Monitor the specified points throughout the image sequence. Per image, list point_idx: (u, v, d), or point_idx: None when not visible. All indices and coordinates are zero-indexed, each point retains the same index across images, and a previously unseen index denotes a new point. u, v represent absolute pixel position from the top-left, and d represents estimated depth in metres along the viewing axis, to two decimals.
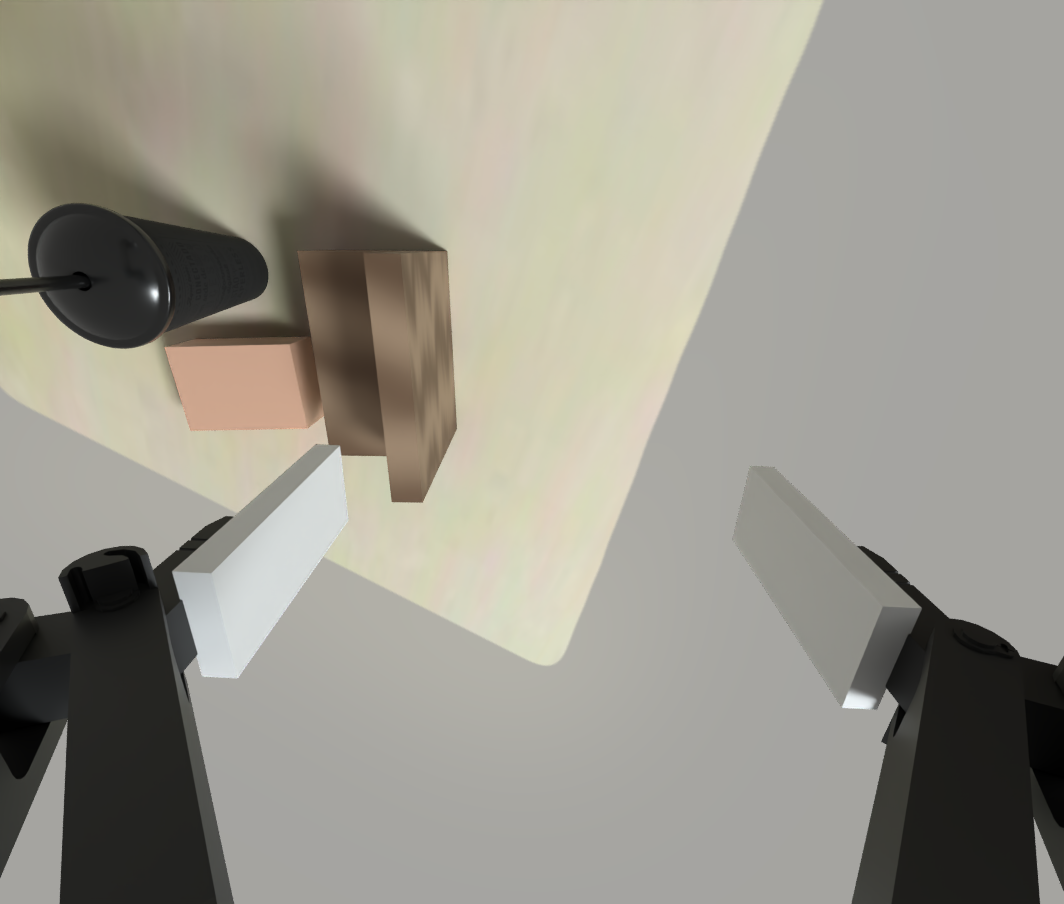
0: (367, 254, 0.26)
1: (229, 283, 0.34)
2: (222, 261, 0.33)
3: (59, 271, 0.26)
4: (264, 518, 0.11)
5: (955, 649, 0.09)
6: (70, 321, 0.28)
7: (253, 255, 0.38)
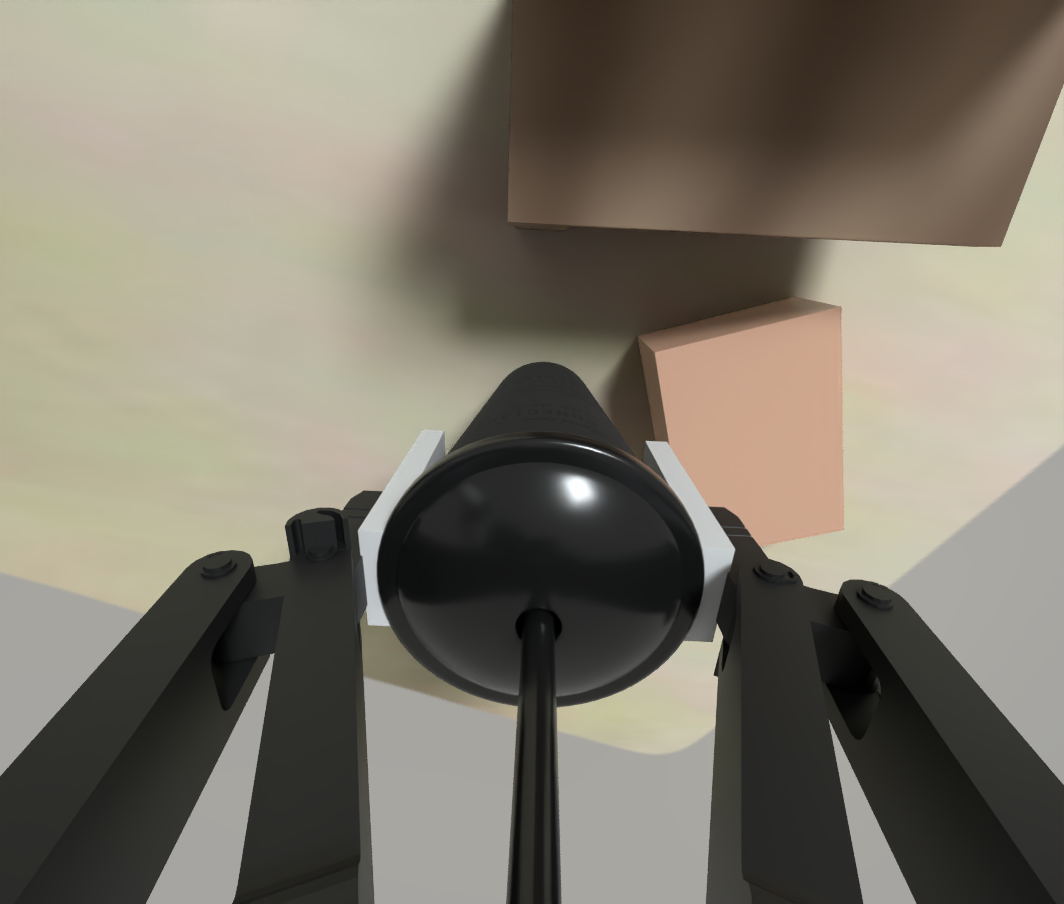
0: None
1: (563, 390, 0.17)
2: (522, 389, 0.17)
3: (514, 662, 0.11)
4: None
5: (757, 584, 0.10)
6: (625, 676, 0.12)
7: (520, 370, 0.22)
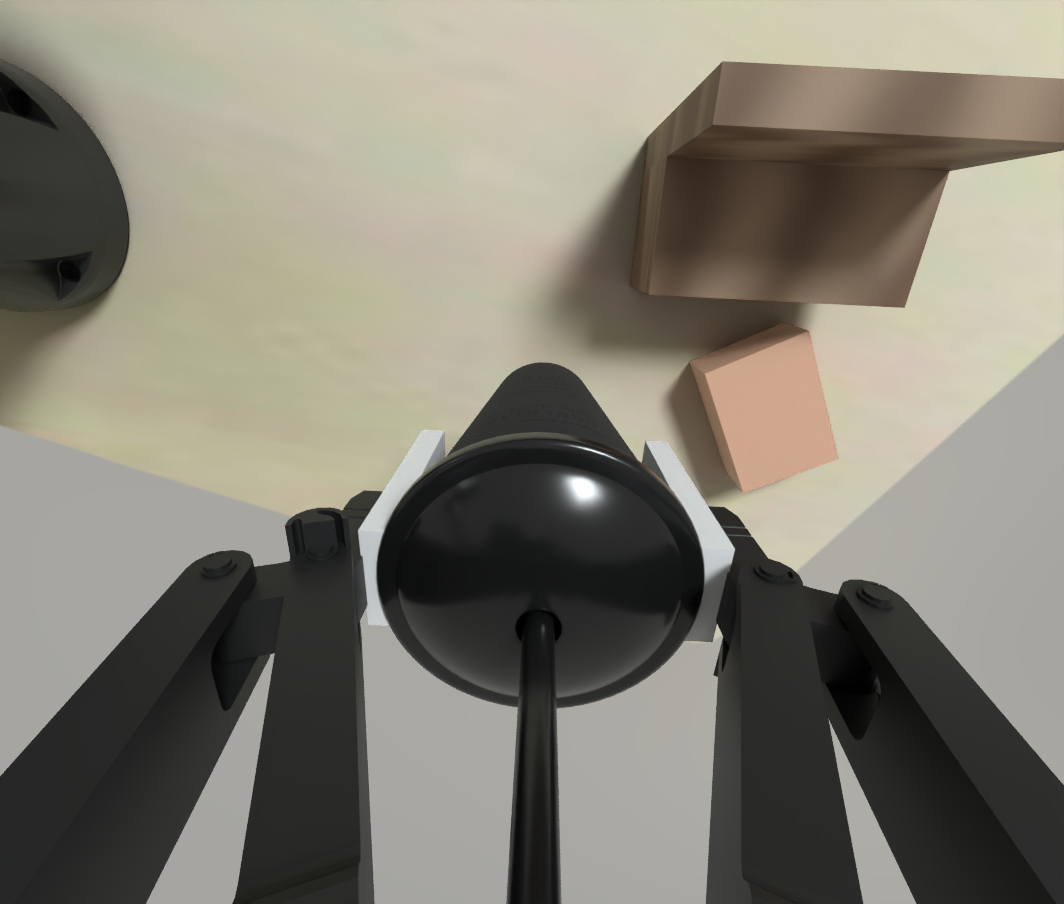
0: (714, 118, 0.19)
1: (563, 391, 0.17)
2: (522, 390, 0.17)
3: (514, 663, 0.11)
4: None
5: (757, 584, 0.10)
6: (625, 677, 0.12)
7: (520, 371, 0.22)
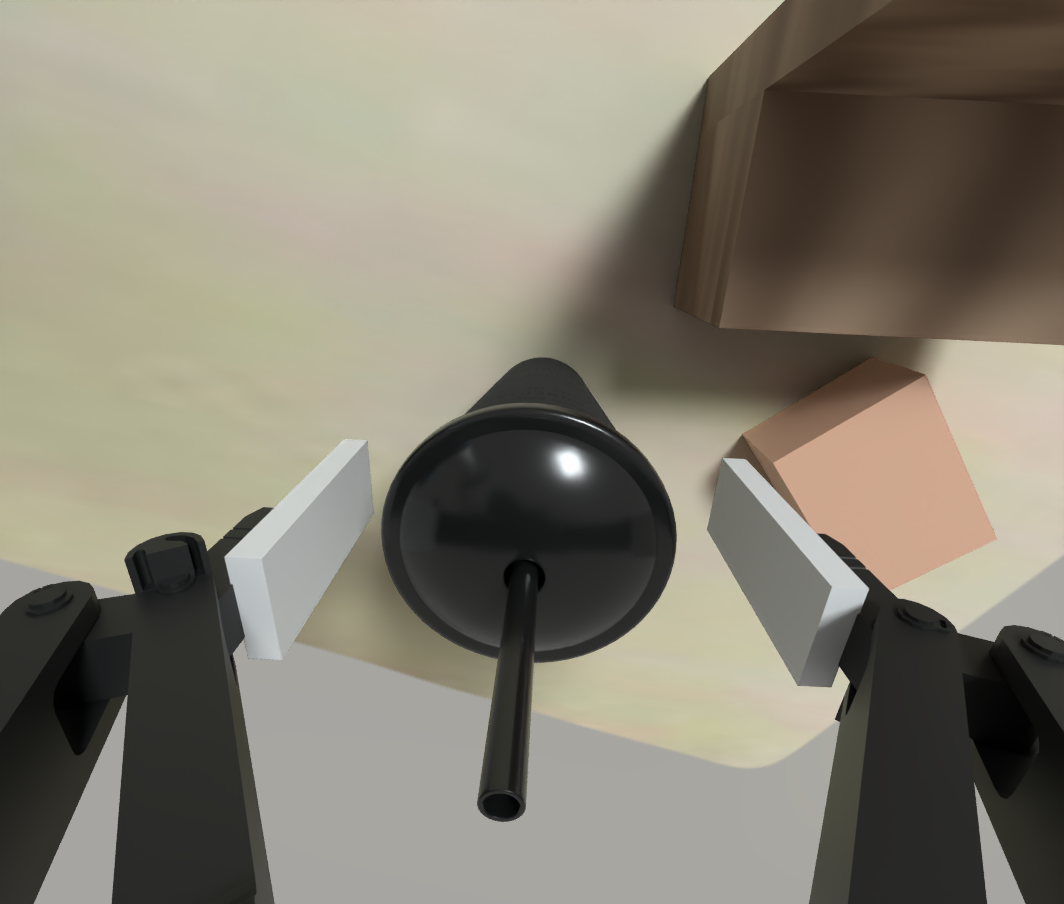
0: None
1: (558, 379, 0.18)
2: (520, 377, 0.18)
3: (502, 611, 0.12)
4: (304, 508, 0.12)
5: (899, 627, 0.09)
6: (605, 632, 0.13)
7: (520, 364, 0.23)
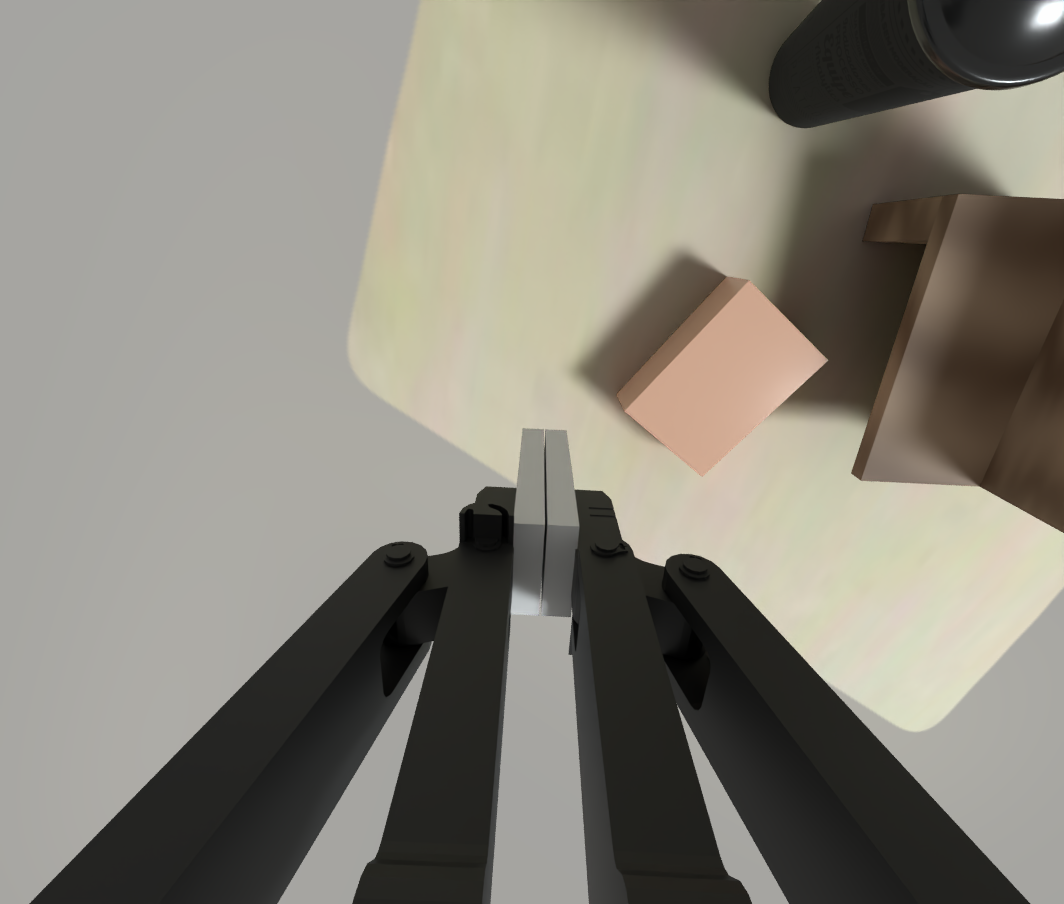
0: None
1: None
2: None
3: None
4: (542, 485, 0.13)
5: (595, 562, 0.10)
6: (948, 18, 0.15)
7: None
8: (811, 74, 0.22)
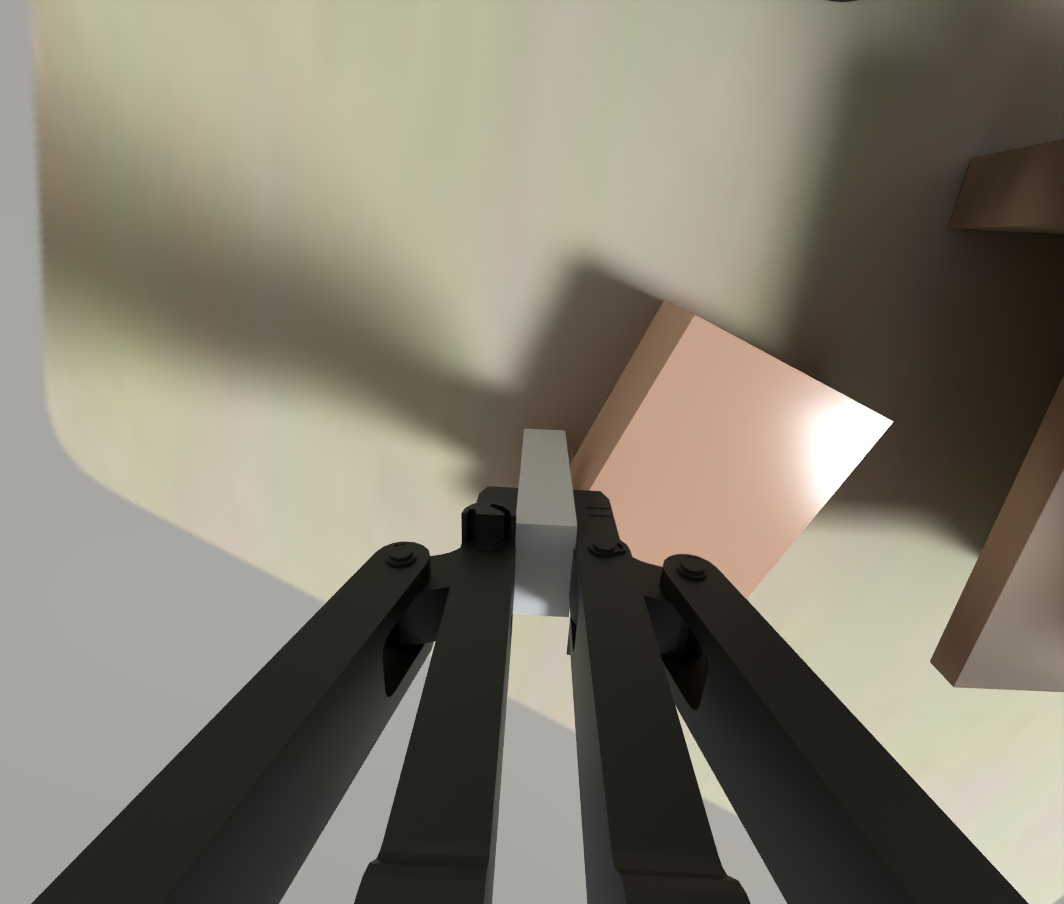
0: None
1: None
2: None
3: None
4: (544, 485, 0.13)
5: (593, 562, 0.10)
6: None
7: None
8: None
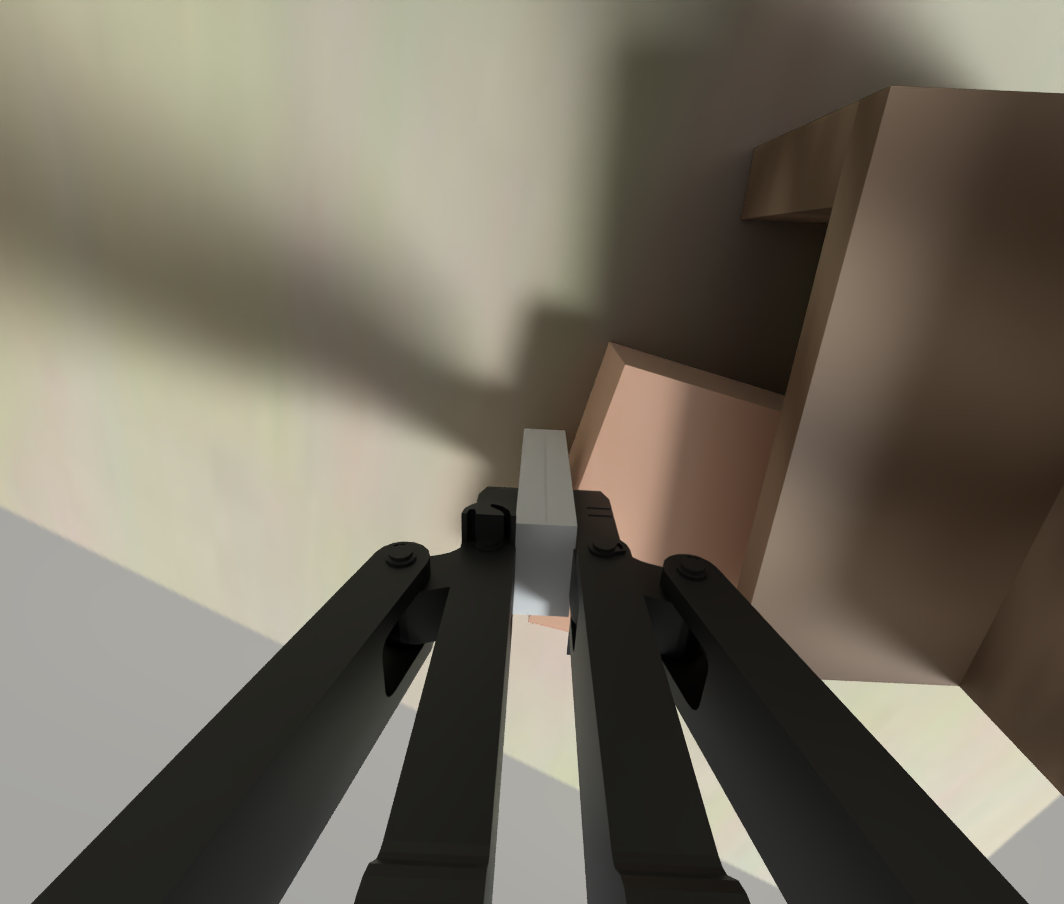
0: None
1: None
2: None
3: None
4: (544, 485, 0.13)
5: (593, 562, 0.10)
6: None
7: None
8: None
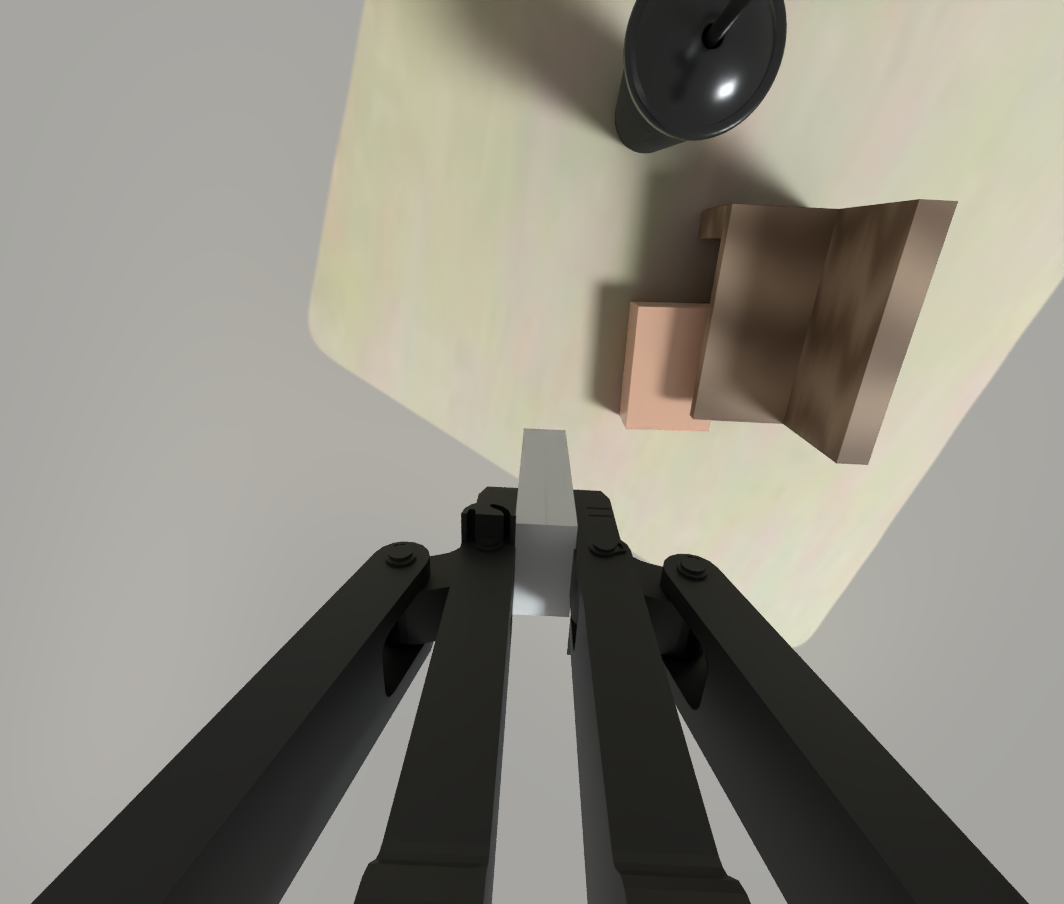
0: (922, 200, 0.26)
1: None
2: None
3: (690, 22, 0.22)
4: (544, 485, 0.13)
5: (593, 562, 0.10)
6: (649, 99, 0.24)
7: None
8: (623, 119, 0.32)
